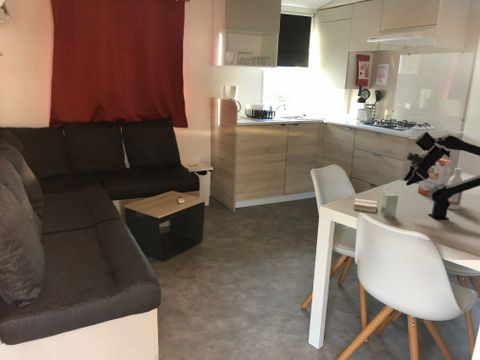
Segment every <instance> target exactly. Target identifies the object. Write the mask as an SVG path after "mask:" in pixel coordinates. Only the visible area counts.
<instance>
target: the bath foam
mask: <svg viewBox="0 0 480 360" xmlns="http://www.w3.org/2000/svg"><path fill="white" fill-rule="evenodd" d="M462 171H463V168H460V167H455V168H454V174H453V175H452V177H450V178H449V182H448V185H447V186H449V185H452V184H455V183H458V182H461V181H464V180H463V178H462V176H461V175H462ZM462 195H463V192H460V193H457V194H454V195H453V196H452V197H450V198H449V199H447V200H448V201H449V202H450V206H449V207H448V209H447V210H454V211H457V210H459V209H460V207H461V202H462Z"/></svg>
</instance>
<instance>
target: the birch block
mask: <svg viewBox="0 0 480 360" xmlns="http://www.w3.org/2000/svg"><path fill="white" fill-rule="evenodd" d="M377 203H378V201H377V200H368V199H361V198H355V199H354V204H353V210H355V209H360V210H359V211H362V210H364V212H372V213H376V212H377V206H378V205H377Z"/></svg>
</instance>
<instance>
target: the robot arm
mask: <svg viewBox="0 0 480 360" xmlns="http://www.w3.org/2000/svg"><path fill="white" fill-rule="evenodd" d="M414 144H415V145H417V146H418V147H419V148H420V149H421V150H422V151H424V152H425V151H427V152H426V154H422V155H419V153H416V152H412V151H408V153H407V156H406V157H405V158H406V160H407V161H410V164H409V171H407V173H406V175H405V177H404V178H403V180H404V181H405V182H406V181H407V182H406V183H405V185H406V186H408V187H409V186H411V185H413V184H416V183H419V182H420V181H423V180H424V179H425V180H427V179H428V178H429V173H428V172H429V171H428V170H429V169H430V168H431V167H432V166H435V165H436V164H435V163H437V162H438V161H439V160H440V159H441V158H442V159H443V157H444V156H446V157H448V158H451V156H450V155H451V151H450V150H453V151H454V150H455V151H463V152H465V153H466V152H467V153H470V154H473V155H476V156H479V157H480V146H478V145H477V144H473V143H470V142H467V141H465V140H462V139H461V138H458V137H456V136H455V135H453V134H449V133H447V134H446V133H445V134H444V135H442V137H437V138H434V137H433V136H432V135H431V134H430V133H429V132H428V131H424V132H423V133H422V134H421V135H419V136H418V137H417V138H416V139H415V140H414ZM436 144H437V145H436ZM438 145H439V146H438ZM446 149H447V150H446ZM436 161H437V162H436ZM478 187H480V174H479V175H476V176H472V177H470V178H467V179H464V180H463V181H461V182H458V183H455V184H452V185H449V186H445V184H444V183H442V184H440V185H437V186H434V188H432V189H431V190H430V196H431V197H430V196H429V197H430V198H431V199H432V201H433V203H432V210H431V213H428V216H429V217H431V218H432V219H434V220H445V221H447V220H450V218H449V217H448V216H447V213H448V210H449V209H448V207H449V206H450V202H449V201H448V200H447V199H449V198H450V197H452V196H453V195H454V194H457V193H460V192H462V193H463V192H465V191H470V190H471V189H475V188H478Z"/></svg>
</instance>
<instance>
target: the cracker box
mask: <svg viewBox="0 0 480 360" xmlns="http://www.w3.org/2000/svg"><path fill="white" fill-rule="evenodd" d="M436 162H437V161H436ZM435 164H436V165H435V166H432V167H431V168H430V169H429V170H428V171H429V172H428V173H429V178H428V179H427V180H425V179H424V180H423V181H420V182H418V189H417V193H419V194H422V195H424V196H428V197H430V198H431V196H430V190H431V189H432V188H434V186H437V185H440V184H442V183H444V184H445V186H447V185H448V182H449V180H450V179H451V171H452V165H453V160H449V159H445V158H443V157H442V158H441V159H440V160H439V161H438V162H437V163H435Z"/></svg>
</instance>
